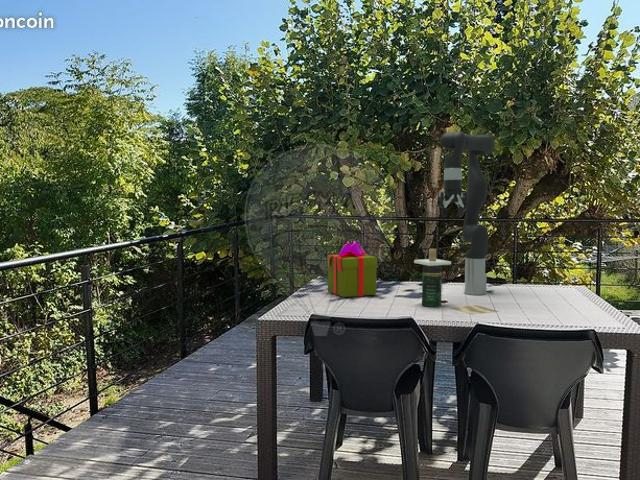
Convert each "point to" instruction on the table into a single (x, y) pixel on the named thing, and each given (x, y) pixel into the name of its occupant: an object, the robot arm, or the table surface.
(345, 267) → the gift box
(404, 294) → the table surface
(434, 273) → the coffee jar
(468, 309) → the mat
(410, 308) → the table surface
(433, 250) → the peg stand
